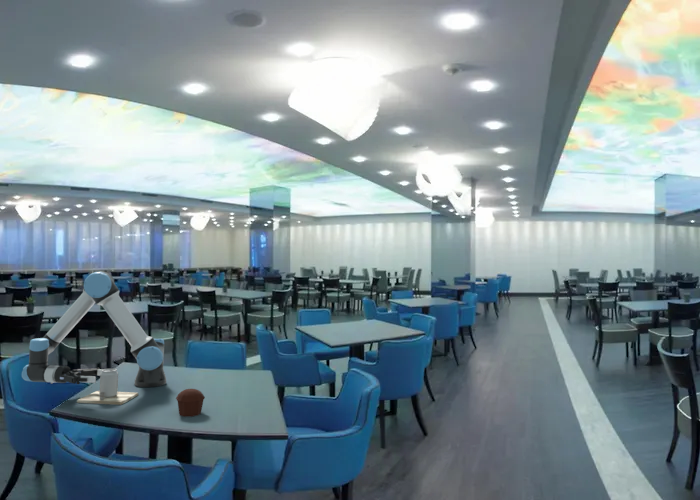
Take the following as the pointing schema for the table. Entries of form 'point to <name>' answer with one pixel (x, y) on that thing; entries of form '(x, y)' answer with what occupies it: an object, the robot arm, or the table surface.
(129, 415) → the table surface
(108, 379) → the can
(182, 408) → the muffin
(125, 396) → the pin base
